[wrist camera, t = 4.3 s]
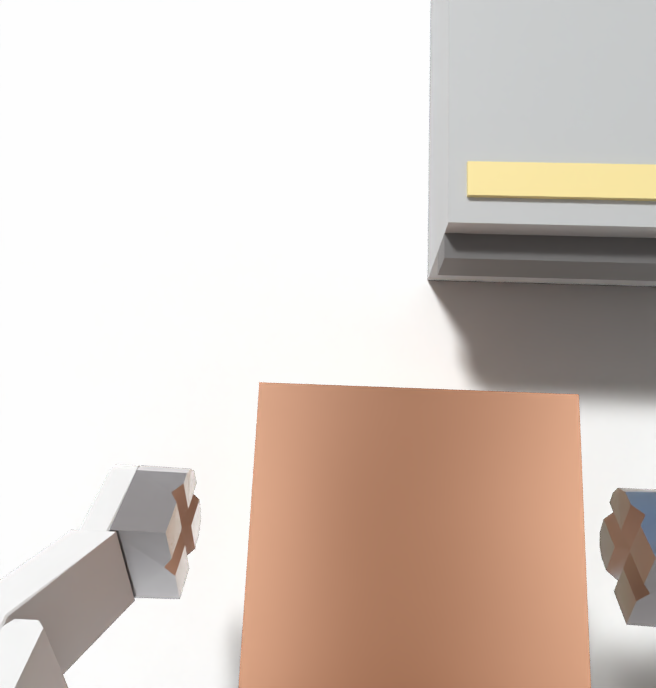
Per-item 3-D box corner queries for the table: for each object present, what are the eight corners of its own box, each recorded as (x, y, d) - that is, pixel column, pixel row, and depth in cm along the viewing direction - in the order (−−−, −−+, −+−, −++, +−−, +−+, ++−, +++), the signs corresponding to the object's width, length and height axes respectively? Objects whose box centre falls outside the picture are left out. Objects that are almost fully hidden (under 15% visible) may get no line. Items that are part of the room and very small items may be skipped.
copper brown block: (295, 605, 16) (235, 729, 8) (304, 427, 17) (259, 382, 9) (473, 615, 15) (593, 753, 8) (472, 434, 16) (578, 394, 9)
